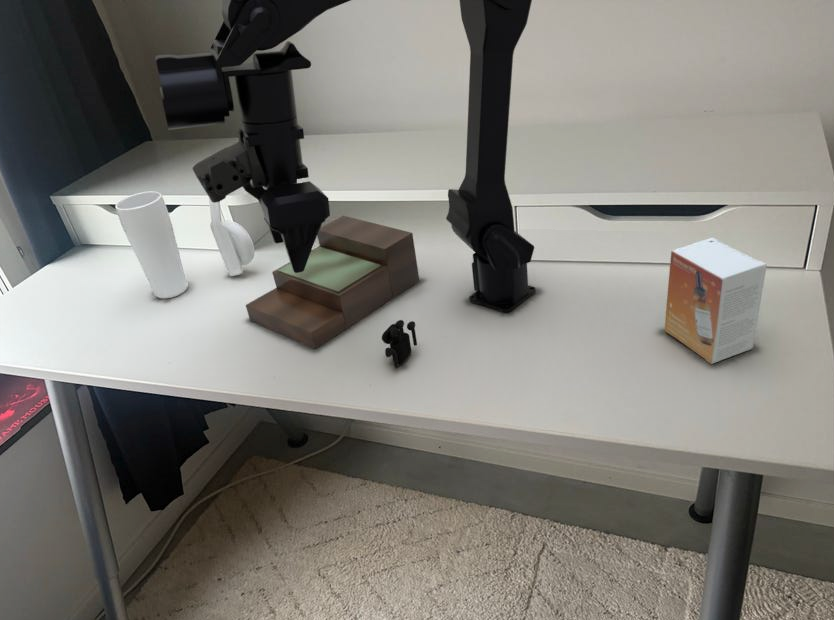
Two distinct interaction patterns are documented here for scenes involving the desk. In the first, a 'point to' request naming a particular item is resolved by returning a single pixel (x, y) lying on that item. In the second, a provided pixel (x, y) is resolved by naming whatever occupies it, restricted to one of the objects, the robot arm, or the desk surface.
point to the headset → (231, 241)
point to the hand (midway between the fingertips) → (288, 256)
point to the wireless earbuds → (399, 342)
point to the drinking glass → (153, 242)
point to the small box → (714, 299)
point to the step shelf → (338, 281)
